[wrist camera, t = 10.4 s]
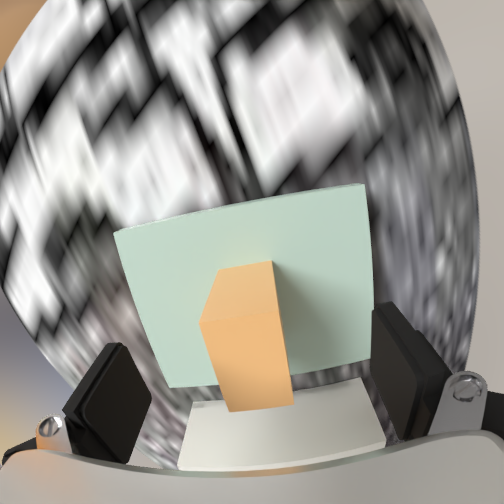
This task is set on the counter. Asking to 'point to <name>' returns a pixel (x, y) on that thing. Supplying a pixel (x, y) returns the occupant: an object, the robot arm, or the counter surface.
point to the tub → (283, 431)
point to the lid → (255, 291)
